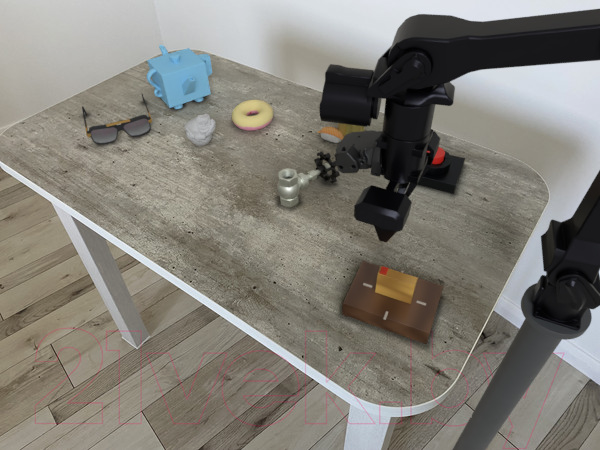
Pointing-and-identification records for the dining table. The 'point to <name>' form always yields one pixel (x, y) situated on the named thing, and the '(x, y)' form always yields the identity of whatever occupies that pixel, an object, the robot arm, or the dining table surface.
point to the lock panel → (392, 305)
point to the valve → (304, 179)
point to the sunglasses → (119, 128)
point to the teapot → (180, 76)
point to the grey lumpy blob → (200, 129)
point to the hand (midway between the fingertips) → (393, 219)
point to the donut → (252, 122)
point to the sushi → (331, 134)
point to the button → (438, 156)
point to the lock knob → (395, 284)
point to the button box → (444, 174)
